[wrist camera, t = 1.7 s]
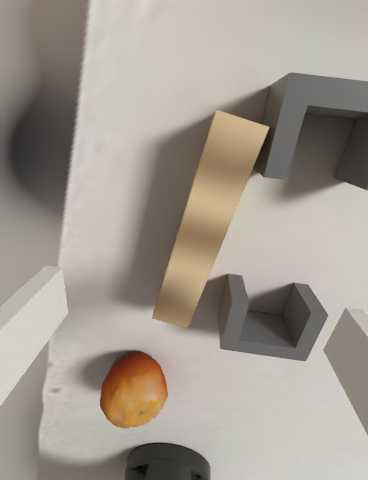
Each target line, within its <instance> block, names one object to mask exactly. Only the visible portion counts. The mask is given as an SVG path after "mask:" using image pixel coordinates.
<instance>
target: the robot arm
mask: <svg viewBox="0 0 368 480" xmlns="http://www.w3.org/2000/svg"><path fill="white" fill-rule="evenodd" d="M67 314H68V306H67V299H66V292H65V285H64V278H63V271H62V268H59V267H52V266H45V267H44V268H43V269H42V270H41V271H40V272H38V274H36V275H35V276H34V277H33V278H32V279H31V280H29V282H27V283H26V284H25V285H24V286H23V287H22V288H20V289H19V290H18V291H17V292H16V293H15V294H14V295H12V297H10V298H9V299H8V300H7V301H6V302H5V303H3V305H1V306H0V406H1V404H2V403H3V402H4V400H5V399H6V397H7V396H8V395H9V393H10V392H11V390H12V389H13V388H14V386H15V385H16V384H17V382H18V381H19V379H20V378H21V377H22V375H23V374H24V373H25V371H26V370H27V369H28V367H29V366H30V364H31V363H32V362H33V360H34V359H35V358H36V356H37V355H38V353H39V352H40V351H41V349H42V348H43V347H44V345H45V344H46V343H47V341H48V340H49V338H50V337H51V336H52V334H53V333H54V332H55V330H56V329H57V327H58V326H59V325H60V323H61V322H62V321H63V319H64V318H65V316H66V315H67ZM323 350H324V352H325V354H326V356H327V358H328V360H329V362H330V364H331V365H332V367H333V369H334V371H335V373H336V375H337V377H338V379H339V381H340V383H341V385H342V387H343V389H344V390H345V392H346V394H347V396H348V398H349V400H350V402H351V404H352V406H353V408H354V410H355V412H356V414H357V415H358V417H359V419H360V421H361V423H362V425H363V427H364V429H365V431H366V433H367V435H368V316H367V315H366V313H365V312H364V311H363V310H357V309H350V308H345V310H344V312H343V314H342V316H341V318H340V319H339V321H338V323H337V325H336V327H335V329H334V331H333V332H332V334H331V336H330V338H329V340H328V342H327V344H326V345H325V347H324V349H323ZM125 480H210V466H209V463H208V462H207V461H206V460H205V458H203V457H202V456H201V455H199V454H198V453H196V452H194V451H192V450H190V449H187V448H184V447H181V446H176V445H170V444H150V445H145V446H142V447H139V448H137V449H135V450H134V451H132V452H131V453H130V455H129V457H128V461H127V465H126V470H125Z"/></svg>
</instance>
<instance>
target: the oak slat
mask: <svg viewBox="0 0 368 480" xmlns="http://www.w3.org/2000/svg"><path fill="white" fill-rule="evenodd" d="M268 130H269V127H268V126H265V125H262V124H259V123H256V122H253V121H249V120H246V119H243V118H240V117H237V116H234V115H231V114H228V113H225V112H222V111H219V110H216V111H215V112H214V114H213V117H212V121H211V124H210V127H209V130H208V134H207V137H206V140H205V144H204V147H203V150H202V153H201V157H200V160H199V163H198V166H197V170H196V173H195V176H194V180H193V183H192V186H191V189H190V193H189V196H188V199H187V202H186V206H185V209H184V212H183V215H182V219H181V222H180V225H179V229H178V232H177V235H176V238H175V242H174V245H173V248H172V251H171V255H170V258H169V261H168V265H167V268H166V271H165V274H164V278H163V281H162V284H161V287H160V291H159V295H158V298H157V302H156V306H155V309H154V313H153V317H152V319H156V320H159V321H163V322H166V323H170V324H174V325H177V326H181V327H185V328H188V326H189V323H190V321H191V318H192V316H193V314H194V311H195V309H196V306H197V304H198V301H199V299H200V296H201V294H202V292H203V289H204V287H205V284H206V282H207V279H208V277H209V274H210V272H211V269H212V267H213V265H214V262H215V260H216V257H217V255H218V252H219V250H220V247H221V245H222V242H223V240H224V238H225V235H226V233H227V230H228V228H229V225H230V223H231V220H232V218H233V215H234V213H235V211H236V208H237V206H238V203H239V201H240V198H241V196H242V193H243V191H244V188H245V186H246V184H247V181H248V179H249V176H250V174H251V171H252V169H253V166H254V164H255V161H256V159H257V157H258V154H259V152H260V149H261V147H262V144H263V142H264V139H265V137H266V135H267V132H268Z"/></svg>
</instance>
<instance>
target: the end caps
mask: <svg viewBox="0 0 368 480" xmlns="http://www.w3.org/2000/svg"><path fill="white" fill-rule="evenodd" d="M305 113H314V114H322V115H330V116H339V117H347V118H355V119H356V121H355V124H354V126H353V129H352V131H351V134H350V137H349V139H348V142H347V145H346V147H345V150H344V152H343V155H342V158H341V160H340V163H339V166H338V168H337V171H336V174H335V176H334V178H337V179H339V180H342V181H344V182H347V183H349V184H352V185H355V186H357V187H360V188H362V189H365V190H368V82H367V81H358V80H350V79H341V78H333V77H324V76H316V75H307V74H299V73H289V74H287V75H286V76H284V77H283V78H281V79H279V80H278V81H276V82H275V83H273V84H272V85H271V87H270V91H269V95H268V100H267V104H266V109H265V113H264V117H263V122H262V125H265V126H268V127H269V130H268V132H267V135H266V137H265V139H264V142H263V144H262V147H261V149H260V152H259V154H258V157H257V159H256V161H255V164H254V166H253V168H254V169H255V170H256V171H257V172H259V173H260V174H261V175H262V176H263V177H268V178H276V179H284V180H286V177H287V174H288V170H289V167H290V163H291V160H292V157H293V153H294V150H295V146H296V143H297V140H298V136H299V133H300V129H301V126H302V123H303V119H304V116H305ZM248 306H249V302H248V298H247V294H246V290H245V286H244V282H243V278H242V276H240V275H233V274H228V275H227V280H226V284H225V288H224V293H223V297H222V301H221V306H220V310H219V315H218V323H219V337H220V349H224V350H231V351H238V352H245V353H252V354H259V355H266V356H273V357H279V358H286V359H293V360H300V361H306V360H307V358H308V356H309V354H310V352H311V350H312V348H313V346H314V343H315V341H316V339H317V337H318V335H319V333H320V331H321V329H322V327H323V325H324V323H325V321H326V319H327V317H328V314H327V313H326V311H325V309H324V308H323V306H322V305H321V303H320V302H319V300H318V299H317V297H316V296H315V294H314V293H313V291H312V290H311V288H310V287H309V285H306V284H298V283H294V284H293V287H292V289H291V292H290V295H289V297H288V300H287V303H286V305H285V308H284V311H283V313H282V315H276V314H269V313H261V312H254V311H247V310H248Z"/></svg>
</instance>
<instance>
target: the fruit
mask: <svg viewBox="0 0 368 480" xmlns="http://www.w3.org/2000/svg"><path fill="white" fill-rule="evenodd" d="M167 396H168V393H167V385H166V380H165V377H164V374H163V372H162V369H161V367H160V365H159V364H158V363H157V362H156V361H155V360H154V359H153V358H152V357H151V356H149V355H147V354H145V353H127V354H125V355H123V356H122V357H120V358H118V357H117V359H116V361H115V363H114V364H113V366H112V368H111V369H110V371H109V373H108V375H107V377H106V379H105V380H104V382H103V385H102V391H101V398H100V406H101V409H102V411H103V412H104V414H105V416H106V418H107V419H108V420H109V421H110V422H111V423H113V424H114V425H115V426H117V427H122V428H129V427H137V426H142V425H144V424H146V423H148V422H149V421H150V420H151V419H153V418H155V417H156V416H157V414H158V413H159V411H160V410H161V409H162V407H163V405H164V404H165V401H166V399H167Z"/></svg>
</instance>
